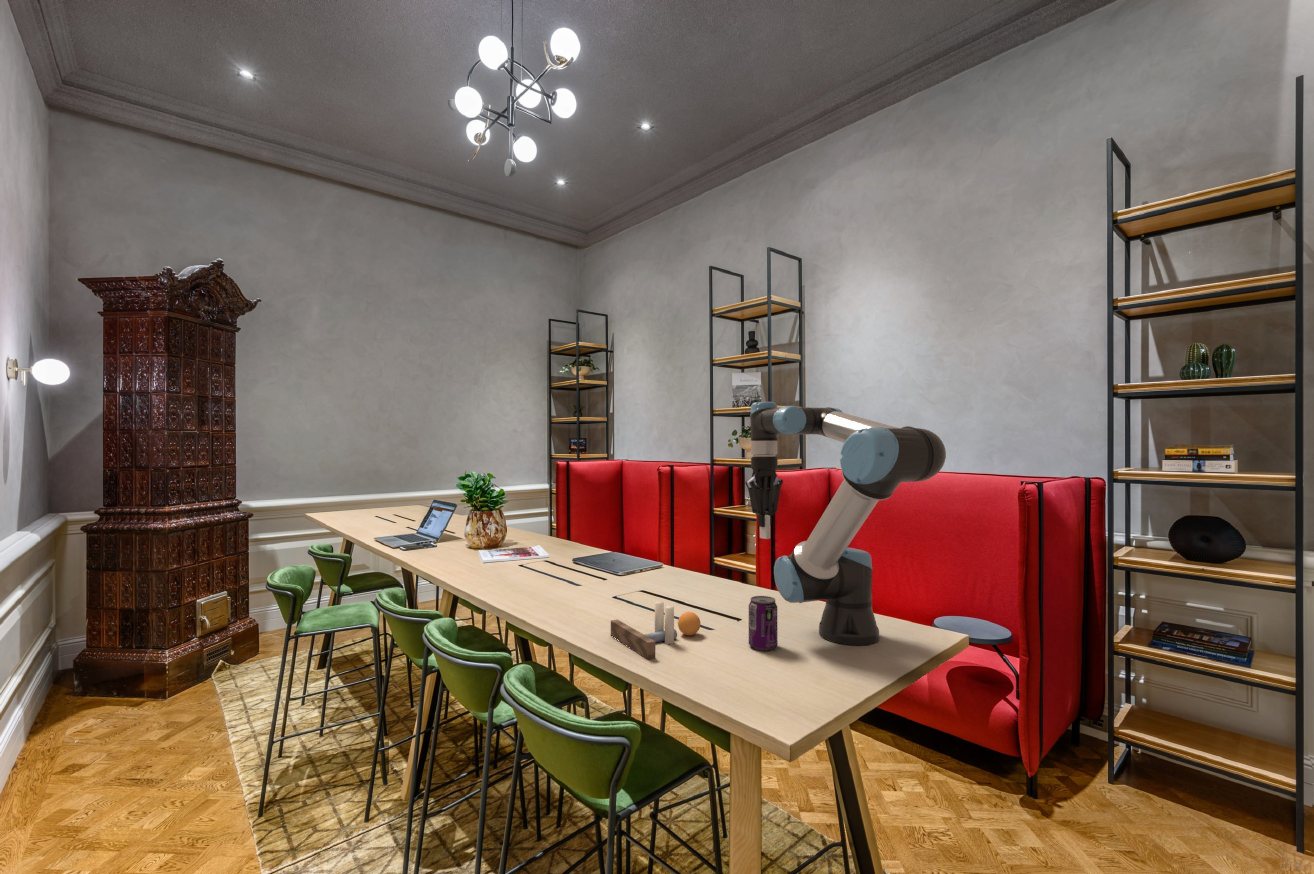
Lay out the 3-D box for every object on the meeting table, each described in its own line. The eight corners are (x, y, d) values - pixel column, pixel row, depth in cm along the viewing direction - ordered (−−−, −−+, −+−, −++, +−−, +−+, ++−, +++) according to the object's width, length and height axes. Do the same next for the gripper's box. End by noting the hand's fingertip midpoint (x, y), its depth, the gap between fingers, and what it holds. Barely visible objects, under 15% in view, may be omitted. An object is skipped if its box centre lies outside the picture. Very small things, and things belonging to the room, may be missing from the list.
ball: (684, 635, 152) (700, 640, 155) (692, 612, 153) (708, 618, 156) (670, 628, 157) (686, 633, 160) (678, 606, 158) (693, 612, 161)
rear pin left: (675, 643, 150) (675, 607, 150) (667, 644, 149) (667, 609, 149) (670, 640, 152) (670, 605, 152) (662, 642, 151) (662, 606, 151)
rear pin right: (665, 637, 154) (665, 603, 154) (657, 639, 153) (657, 604, 153) (660, 635, 156) (660, 600, 156) (653, 636, 155) (653, 602, 155)
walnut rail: (655, 658, 140) (655, 641, 140) (648, 659, 139) (648, 642, 139) (617, 634, 157) (617, 619, 157) (610, 635, 156) (610, 620, 156)
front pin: (677, 631, 153) (647, 636, 148) (676, 640, 153) (646, 645, 149) (672, 627, 155) (642, 633, 150) (672, 636, 155) (642, 642, 151)
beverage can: (777, 653, 143) (777, 603, 143) (747, 650, 144) (747, 601, 145) (777, 643, 150) (777, 595, 150) (749, 641, 151) (749, 594, 152)
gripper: (771, 455, 177) (772, 534, 176) (738, 456, 169) (739, 538, 169) (789, 455, 170) (790, 537, 170) (756, 456, 163) (757, 541, 162)
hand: (765, 538), depth 169 cm, fingers closed
